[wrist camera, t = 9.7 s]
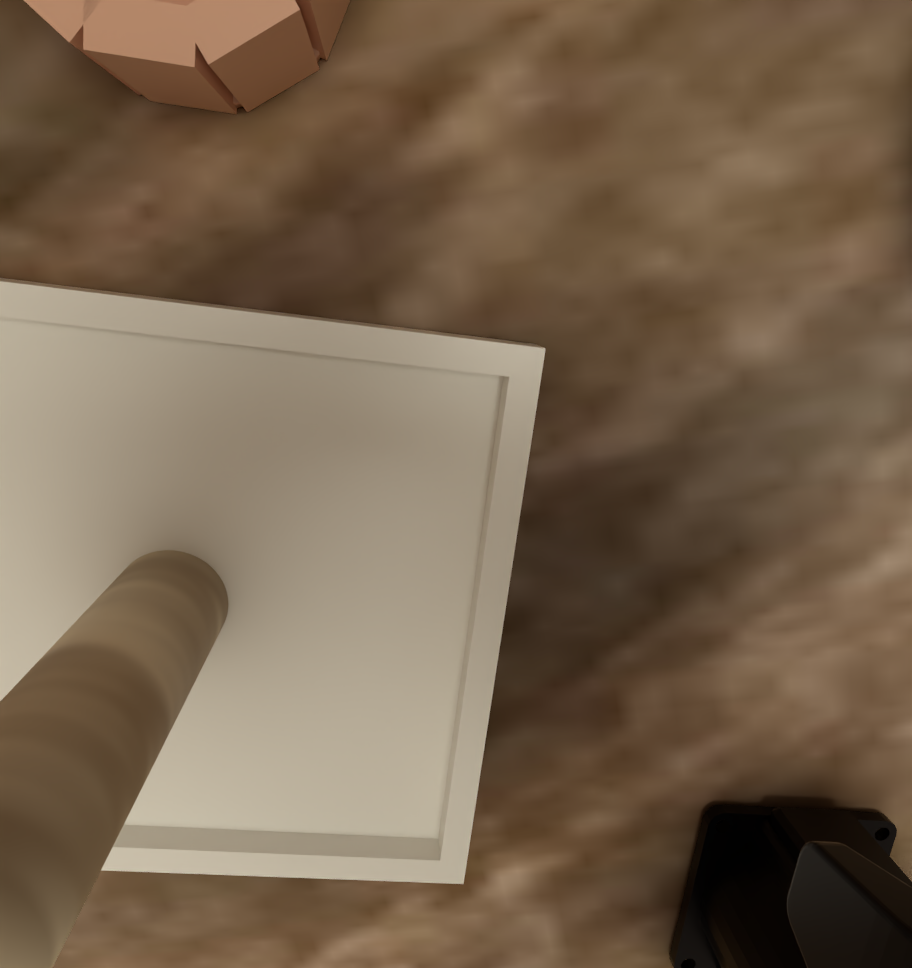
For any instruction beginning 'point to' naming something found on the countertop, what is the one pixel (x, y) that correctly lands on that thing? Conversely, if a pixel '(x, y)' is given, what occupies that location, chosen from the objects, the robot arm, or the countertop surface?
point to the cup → (201, 45)
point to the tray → (277, 561)
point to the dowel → (93, 740)
